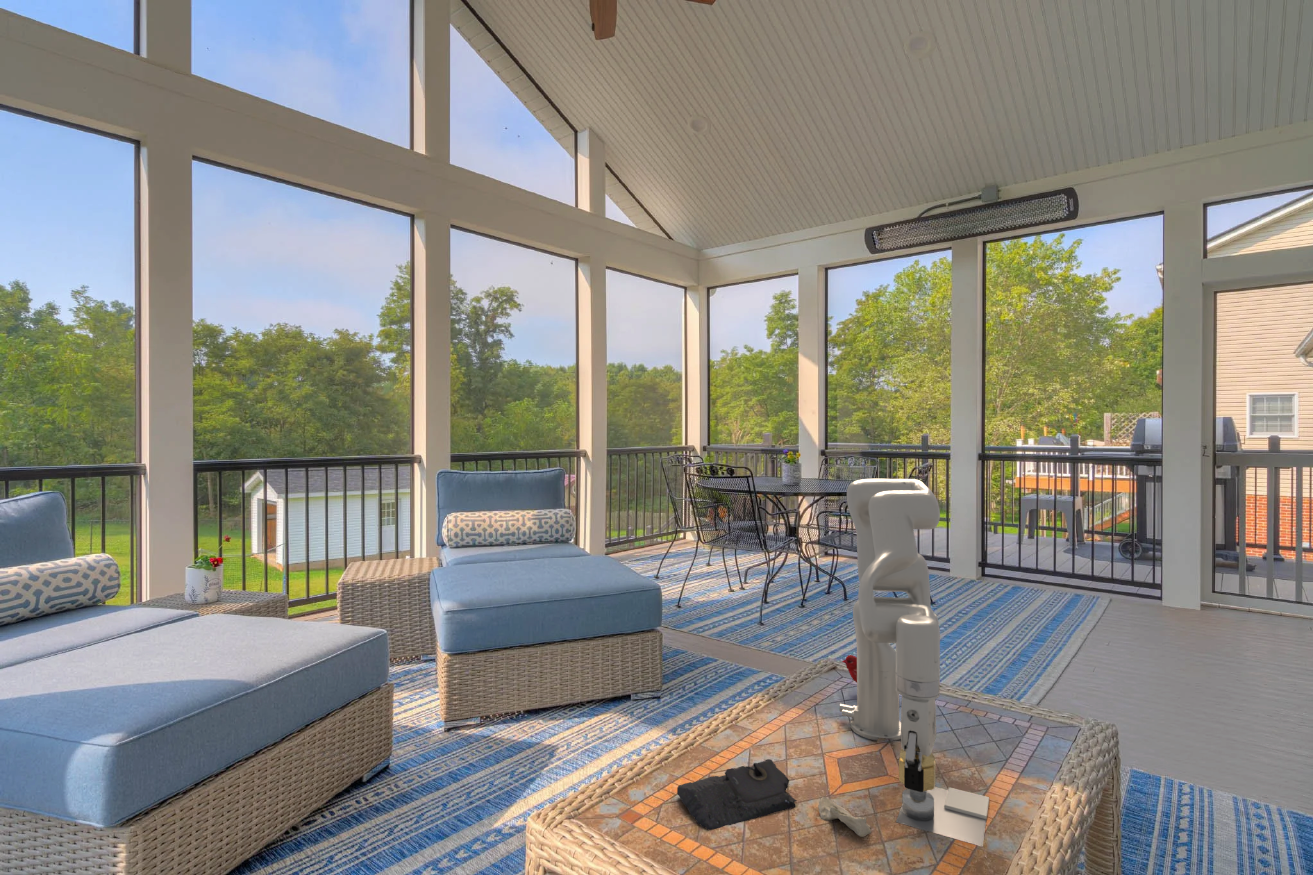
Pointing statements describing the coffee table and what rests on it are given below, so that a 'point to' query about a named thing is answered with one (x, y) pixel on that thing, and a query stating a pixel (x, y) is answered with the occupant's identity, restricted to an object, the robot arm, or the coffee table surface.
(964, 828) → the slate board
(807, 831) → the coffee table surface
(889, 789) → the coffee table surface
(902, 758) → the gold lidded jar
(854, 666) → the decorative bird figurine
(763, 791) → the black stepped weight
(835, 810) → the beige bone fragment
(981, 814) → the pad
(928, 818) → the grey knob
